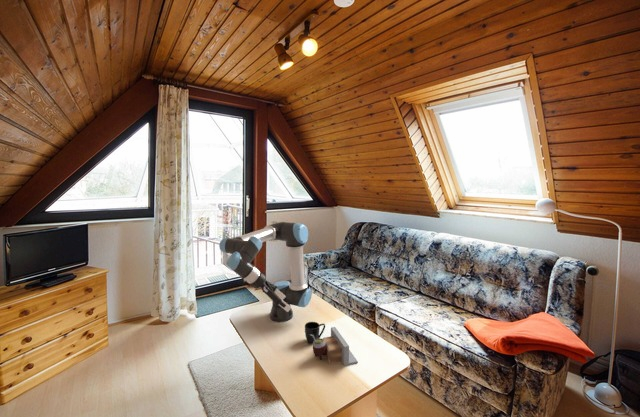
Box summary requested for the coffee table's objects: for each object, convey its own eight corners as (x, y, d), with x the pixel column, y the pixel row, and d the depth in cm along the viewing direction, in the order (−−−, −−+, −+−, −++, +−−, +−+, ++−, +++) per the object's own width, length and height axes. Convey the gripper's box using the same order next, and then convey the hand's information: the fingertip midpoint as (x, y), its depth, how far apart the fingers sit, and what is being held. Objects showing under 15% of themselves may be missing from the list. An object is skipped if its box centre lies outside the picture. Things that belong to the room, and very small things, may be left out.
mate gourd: (327, 350, 151) (323, 324, 148) (328, 360, 143) (324, 332, 141) (312, 352, 150) (309, 326, 148) (313, 362, 143) (309, 334, 140)
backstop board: (330, 344, 159) (330, 327, 158) (342, 342, 161) (343, 325, 160) (344, 366, 141) (344, 346, 140) (357, 363, 143) (357, 344, 142)
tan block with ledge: (322, 350, 154) (322, 338, 153) (333, 348, 156) (333, 336, 155) (329, 364, 142) (329, 350, 142) (341, 361, 144) (341, 348, 144)
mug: (327, 342, 161) (327, 326, 160) (307, 346, 157) (307, 330, 156) (322, 334, 169) (322, 319, 168) (302, 338, 165) (302, 323, 163)
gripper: (247, 275, 147) (277, 299, 154) (251, 294, 124) (286, 321, 130) (257, 264, 149) (286, 288, 155) (264, 280, 125) (297, 308, 131)
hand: (286, 303), depth 143 cm, fingers open, 13 cm apart
